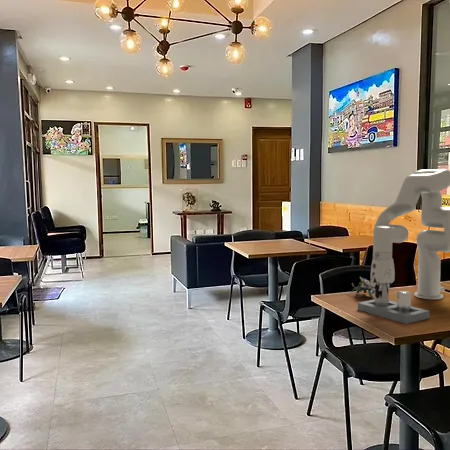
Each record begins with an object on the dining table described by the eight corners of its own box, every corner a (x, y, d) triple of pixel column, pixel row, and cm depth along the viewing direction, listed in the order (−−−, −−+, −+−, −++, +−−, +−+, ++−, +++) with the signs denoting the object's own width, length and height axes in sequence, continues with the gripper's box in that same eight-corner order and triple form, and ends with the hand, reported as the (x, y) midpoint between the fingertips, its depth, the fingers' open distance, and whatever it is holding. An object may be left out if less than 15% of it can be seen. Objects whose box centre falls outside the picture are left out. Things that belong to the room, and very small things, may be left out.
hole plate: (380, 305, 196) (380, 298, 195) (429, 318, 175) (429, 310, 175) (357, 309, 189) (357, 302, 188) (406, 324, 168) (406, 316, 168)
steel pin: (402, 314, 181) (402, 290, 180) (413, 317, 176) (413, 292, 175) (394, 316, 178) (394, 292, 177) (404, 319, 174) (405, 294, 173)
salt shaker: (385, 308, 182) (386, 277, 181) (372, 306, 186) (372, 275, 185) (390, 305, 187) (391, 275, 186) (377, 303, 190) (378, 273, 189)
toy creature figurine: (371, 309, 209) (378, 292, 201) (348, 303, 211) (353, 287, 204) (372, 291, 218) (378, 274, 210) (350, 286, 220) (355, 269, 212)
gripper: (376, 258, 177) (375, 303, 179) (403, 255, 186) (402, 298, 187) (361, 256, 184) (361, 299, 185) (388, 253, 192) (387, 294, 194)
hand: (381, 298), depth 186 cm, fingers closed on salt shaker, 3 cm apart
